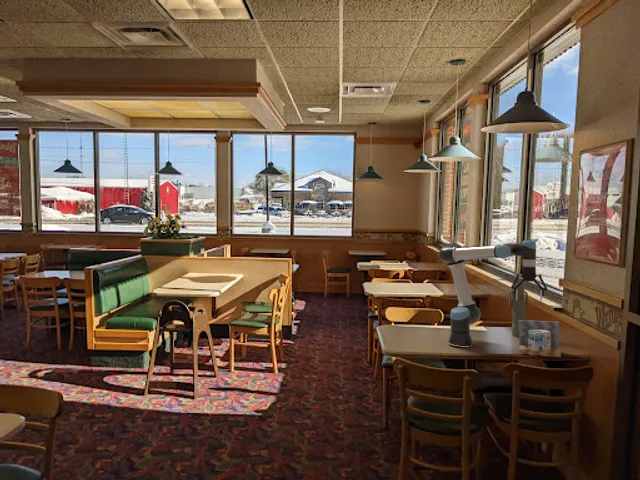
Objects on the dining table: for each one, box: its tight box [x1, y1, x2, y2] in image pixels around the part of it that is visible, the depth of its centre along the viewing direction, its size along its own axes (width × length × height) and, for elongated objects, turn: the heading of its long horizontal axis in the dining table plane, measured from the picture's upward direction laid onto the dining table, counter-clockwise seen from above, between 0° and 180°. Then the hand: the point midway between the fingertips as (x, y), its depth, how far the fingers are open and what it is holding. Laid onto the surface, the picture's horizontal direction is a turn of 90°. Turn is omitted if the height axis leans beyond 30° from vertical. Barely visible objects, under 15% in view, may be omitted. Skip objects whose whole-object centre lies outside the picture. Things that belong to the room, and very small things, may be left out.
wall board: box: [518, 319, 562, 358], centre depth 285 cm, size 22×12×18 cm, turn 68°
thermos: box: [508, 283, 529, 338], centre depth 324 cm, size 9×12×35 cm
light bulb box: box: [528, 329, 551, 351], centre depth 283 cm, size 11×7×11 cm, turn 101°
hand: (528, 300), depth 291 cm, fingers open, 13 cm apart
